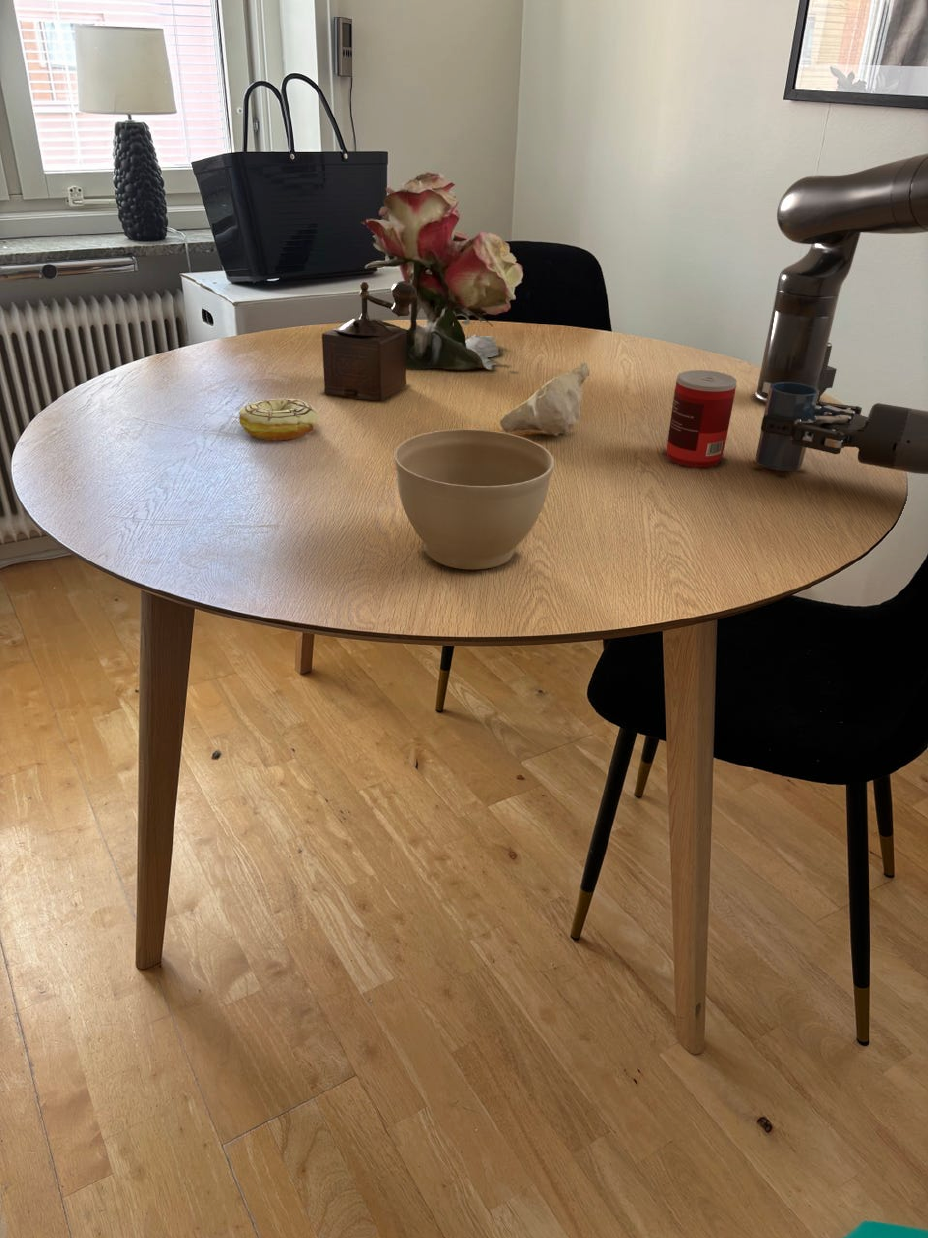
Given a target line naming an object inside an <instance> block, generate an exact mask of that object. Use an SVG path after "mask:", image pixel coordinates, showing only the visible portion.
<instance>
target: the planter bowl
mask: <svg viewBox="0 0 928 1238" xmlns="http://www.w3.org/2000/svg"><path fill="white" fill-rule="evenodd" d="M393 457H394V459H393V461H394V466H395V469H396V481H397V490H398V495H399V498H400V502H401V505H402V508H403V511H404V513H405V515H406V517H407V519H408V521H409V523H410V525H411V527H412V528H413V530H414V531H415V533H416V534H417V536H418V537H419V539H421V541H422V542H423V546H424V550H425V553H426V554H427V556H428V557H430V558H431V559H432V560H433V561H435V562H437V563H438V564H441V565H442V566H443V565H444V566H446V567H449V568H455V569H459V570H461V569H462V570H485V569H492V568H496V567H499V566H501V565H504V564H505V563H507V562H508V561H510V560H511V559H512V557H513V556H514V553H515V549H516V547H517V546H518V545H519V544H520V543H521V542H522V541H523V540H524V539H525V537H527V535H528V534H529V533H530V531H531V530H532V528H533V527H534V525H535V524H536V522H537V521H538V519H539V516H541V515H540V514H541V513H542V510H543V508H544V506H545V502H546V499H547V496H548V493H549V488H550V487H549V486H550V480H551V477H552V475H553V471H554V467H555V466H554V465H555V459H554V457H553V455H552V454H551V452H550V451H549V450H548V449H546V448H545V447H544V446H542V445H540V444H538V443H536V442H534V441H532V440H530V439H528V438H526V437H522V436H519V435H516V434H512V433H509V432H502V431H498V430H497V431H495V430H488V429H476V428H475V429H474V428H455V429H451V428H450V429H443V430H442V429H441V430H436V431H431V432H425V433H420V434H417V435H415V436H412V437H409V438H407V439H405V440H403V441H402V442H400V443H399V444H398V445H397V447H396V448H395V449H394V454H393Z"/></svg>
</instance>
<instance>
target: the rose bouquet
mask: <svg viewBox="0 0 928 1238" xmlns="http://www.w3.org/2000/svg"><path fill="white" fill-rule="evenodd" d="M454 186H456V184H455V182H453V181H451V180H448V179H446V178H445V175H444V174H442V173H441V172H439V173H438V172H437V173H434V172H432V171H424V172H423V173H421V174H419V175H416V176H415V177H414V178H412V179H408V180H406V181H405V182H403V183H401V188H399V189H398V190H397V191H396V190H394V189H392V187H391V186H388V187H385V191H386V193H387V195H386V196H385V198H384V199H383V206H381V207H380V209H379V211H378V216H381V219H377V218H366V219H365V220H363V221H361V222H360V224H363V225H365V226H366V227H367V228H368V229H369V230H370V231H371V233H373V234H374V235H373V236H372V238H374V240H375V241H374V242H373V241H371V244H372V245H373V247H374V248H375V249H376V250H377V251H379V252H382V253H384V255H386V257H387V258H388V260H376V261H371V262H370V263H368V264H366V265H365V266H364V269H371V268H376V267H377V268H396V267H397V268H398V270H399V273H400V275H401V278H402V281H406V282H409V283H410V284H412V285H413V286H414V287H415V288H416V291H417V296H416V299H415V300H414V301H413V302H412V303H411V304H410V305H409V312H410V314H409V315H410V316H409V321H410V324H409V327H408V328H407V329H406V369H413V370H426V369H433V368H441V369H447V370H455V371H467V370H468V371H470V370H476V369H481V368H482V369H486V370H489V371H492V370H493V368H492V367H493V366H498V363H496V362H494V361H493V360H491V359H490V358H491V357H495V356H499V349H498V345H497V343H496V340H495V337H494V336H491V335H485V336H483V335H478V334H476V333H475V334H474V335H472V336H470V337H466V334H465V331H464V327H463V326H462V325H465V326H468V325H470V324H471V320H470V318H469V317H470V316H474V317H475V318H477V319H478V321H479V322H480V323H481V322H486V323H488V324H489V325H490V326H491V327H494V325H493V324H492V323H490V321H489V320H487V319H486V318H485V317H484V316H487V315H492V316H497V315H499V314H501V313H506V312H509V310H511V302H510V301H511V300H513V301H514V300H516V295H515V290H516V287H518V286H519V285H520V284H521V283H523V281H522V280H523V277H524V272H523V266H522V265H521V264H520V263H517V261H518V260H517V257H515V255H514V254H513V253H512V252H510V250H511V247H510V244H509V243H507V242H506V241H504V239H502V238H501V236H500V235H498V234H497V233H493V232H489V231H486V230H481V231H477V232H476V234H474V235H473V236H471V237H470V236H468V235H467V233H464V232H462V231H458V230H455V228H456V226H457V224H458V223H459V221H460V218H461V214H460V212H459V210H458V209H456V208H457V206H458V204H459V201H458V200H457V199H456V194H457V193H456V192H455V191H452V188H453V187H454ZM446 309H447V310H446ZM421 310H422V312H423V313H424V315H425V316H426V321H425V325H419V324H418V323H417V318H418V315H419V313H420V311H421ZM443 310H446V311H445V312H444V314H443V315H442V313H443ZM460 316H462V317H464V318H465V319H466V320H464V321H461V323H462V324H461V323H460V321H459V319H458V318H457V317H460ZM372 319H376V320H378V321H379V322H381V323H383V324H384V325H385V326H390V327H397V328H401V327H400V326H398V325H396V324H393V323H390V322H387V321H383V320H382V319H380V318H377V317H375V316H374V317H372ZM502 366H504V367H505V366H506V365H504V364H503V365H502V364H499V367H502Z"/></svg>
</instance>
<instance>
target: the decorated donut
mask: <svg viewBox="0 0 928 1238" xmlns="http://www.w3.org/2000/svg"><path fill="white" fill-rule="evenodd" d="M238 414H239V416H238V420H239V424H240V425H241V427H242V428H243V430H244V431H245V432H246V433H247V434H248V435H250V436H251V437H254V438H256V439H260V440H265V441H270V442H271V441H278V440H279V441H280V440H282V441H286V440H292V439H293V440H294V439H298V438H300V437H302V436H305V435H307V434H308V433H310V432H312V431H313V429H314V428H316V427H317V425H318V424H319V413H318V411H317V408H315V406H313V405H312V404H310V403H309V402H306V401H304V400H301V399H299V398H269V399H261V400H256V401H252V402H250V403H248V404H245V405H244V406H243V407H241V408H240V410H239V412H238Z"/></svg>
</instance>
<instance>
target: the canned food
mask: <svg viewBox="0 0 928 1238" xmlns="http://www.w3.org/2000/svg"><path fill="white" fill-rule="evenodd" d="M736 388H737V379H736V378H735V377H734V376H732V375H730V374H728V373H724V372H719V371H714V370H705V369H704V370H703V369H695V370H694V369H691V370H686V371H682V372H680V373H678V374H677V378H676V381H675V386H674V393H673V399H672V406H671V414H670V418H669V419H670V420H669V427H668V434H667V440H666V447H665V451H666V456H667V458H668V459H669V460H670V461H671V462H673V463H675V464H677V465H680V466H683V467H689V468H709V467H713V466H716V465H718V464H719V463H720V462H721V461H722V459H723V457H724V453H725V447H726V443H727V437H728V433H729V428H730V427H729V426H730V421H731V416H732V411H733V406H734V400H735V395H736Z"/></svg>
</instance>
